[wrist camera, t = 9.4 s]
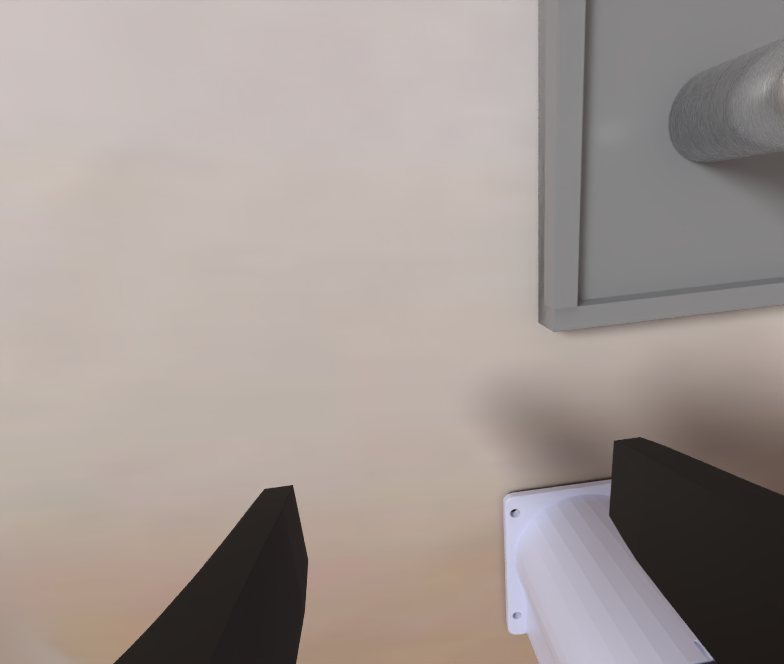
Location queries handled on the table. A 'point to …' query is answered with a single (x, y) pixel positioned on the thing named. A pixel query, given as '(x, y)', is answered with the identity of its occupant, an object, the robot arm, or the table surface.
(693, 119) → the steel pin
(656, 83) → the tray
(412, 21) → the table surface
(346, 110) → the table surface
